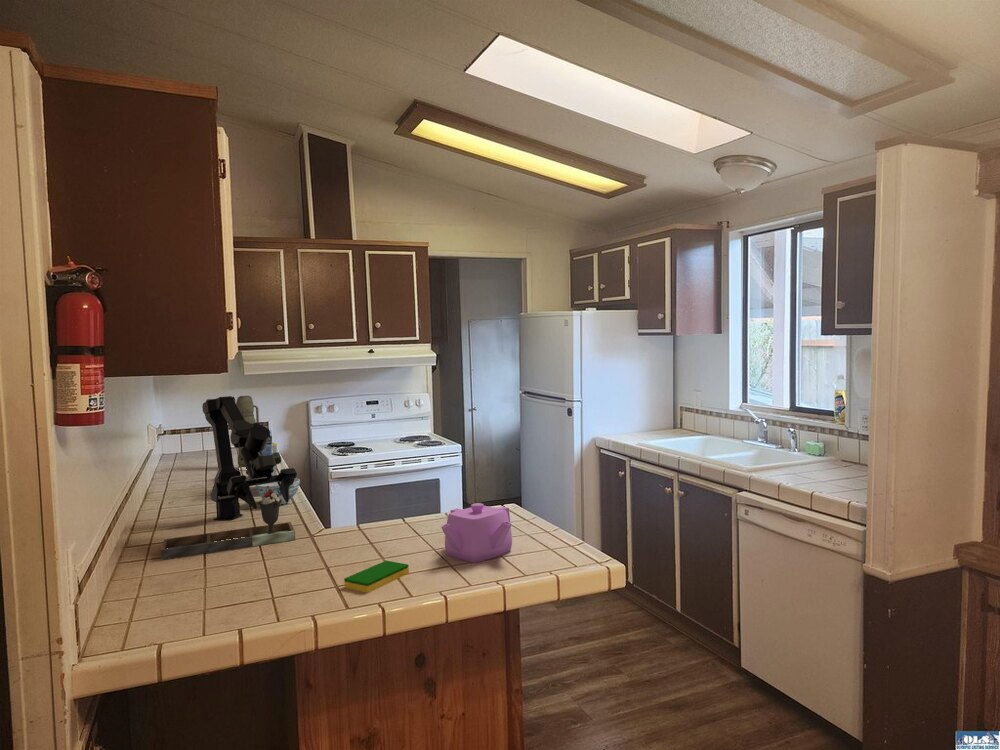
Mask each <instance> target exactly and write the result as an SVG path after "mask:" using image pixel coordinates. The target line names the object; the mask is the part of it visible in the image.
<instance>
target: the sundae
mask: <svg viewBox="0 0 1000 750" xmlns="http://www.w3.org/2000/svg"><path fill="white" fill-rule="evenodd" d="M267 488H268V486H267ZM268 489H269V488H268ZM278 497H279V495H278V494H276V493H275V492H273V491H272V490H270V489H269V491H268V492H267V490H266V494H265V495H264V497H263V498H261V500H260V501H258V502H257V503H256V505H259V508H260V511H261V517H262V522H264V523H265V524H266V525H269V532H268V534H274V533H275V532H274V530H273V524H276V523H277V521H278V520H279V514H280V506H281V505H280V503H281V502H282V499H279V498H278Z"/></svg>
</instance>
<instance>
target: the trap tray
mask: <svg viewBox="0 0 1000 750" xmlns="http://www.w3.org/2000/svg"><path fill="white" fill-rule="evenodd" d="M273 530H274V532H275V533H274V534H268V532H269V525H268V524H266V525H258V526H252V527H245V528H236V529H230V530H221V531H215V532H207V533H201V534H194V535H193V534H191V535H185V536H178V537H170V538H164V539H163V542H162V545H161V549H160V556H161V558H160V560H161V559H164V560H169V559H168V558H171V559H176V558H175V557H177V558H182V557H181V556H184V557H189V555H191V556H196V555H195V554H198V555H203V553H204V554H210V552H211V553H216V551H218V552H223V551H222V550H225V551H229V550H228V549H231V550H235V549H234V548H238V549H242V547H245V548H251V547H250V546H252V547H259V546H263V545H270V544H271V545H272V544H279V543H285V542H292V541H296V530H295V529H294V526H293V524H292V522H291V521H290V522H288V521H287V522H281V523H274V524H273ZM241 537H245V538H241ZM233 538H238V539H233ZM226 539H231V540H226ZM221 540H224V541H221ZM214 541H217V542H214ZM167 548H168V549H167Z"/></svg>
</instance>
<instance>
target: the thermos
mask: <svg viewBox="0 0 1000 750" xmlns="http://www.w3.org/2000/svg"><path fill="white" fill-rule="evenodd" d="M235 402H236V405H237V407H238V408H239V410H240V412H241V414H242V415H243V417H244V419H245V420H246V422H249V423H251V424H253V423H260V419H259V415H260V414H259V407H258V406H257V405H255V404H254V401H253V397H252V396H250V395H239V396H238V397H237V399H236V401H235ZM254 408H255V411H254ZM254 412H255V415H254ZM255 416H256V418H255ZM242 448H243V447H241V448H237V451H238V452H237V453H238V454H237V465H238V466H237V467H245V464H244V462H243V460H241V459H240V457H241V454H240V452H241V449H242Z"/></svg>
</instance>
